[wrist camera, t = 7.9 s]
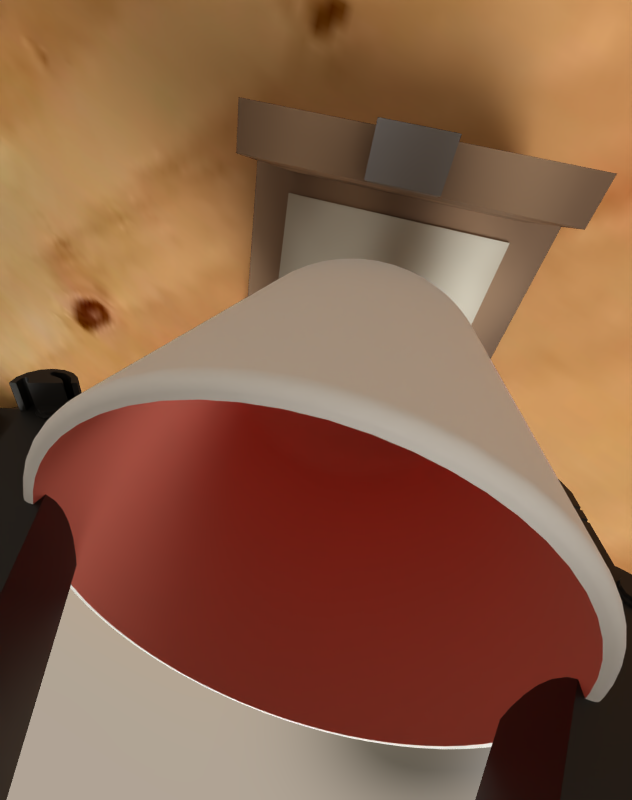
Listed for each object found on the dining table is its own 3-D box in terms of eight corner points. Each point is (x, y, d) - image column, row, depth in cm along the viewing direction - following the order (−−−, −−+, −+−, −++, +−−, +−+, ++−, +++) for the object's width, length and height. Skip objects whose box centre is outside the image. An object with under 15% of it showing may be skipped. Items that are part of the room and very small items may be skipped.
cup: (219, 403, 17) (32, 604, 8) (297, 197, 11) (-30, 168, 3) (387, 495, 17) (370, 771, 9) (541, 341, 12) (892, 688, 3)
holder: (248, 389, 27) (182, 467, 19) (269, 133, 18) (160, 73, 10) (436, 443, 26) (452, 553, 18) (564, 196, 16) (722, 186, 8)
